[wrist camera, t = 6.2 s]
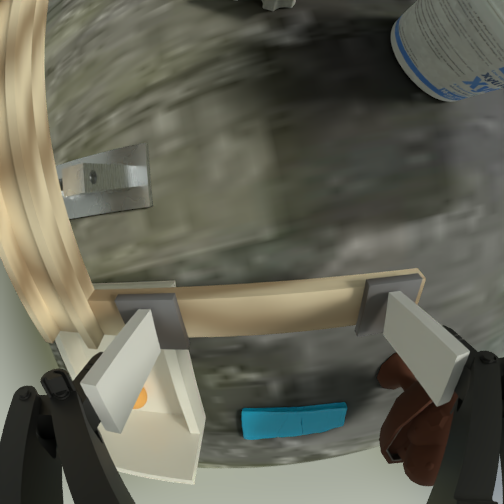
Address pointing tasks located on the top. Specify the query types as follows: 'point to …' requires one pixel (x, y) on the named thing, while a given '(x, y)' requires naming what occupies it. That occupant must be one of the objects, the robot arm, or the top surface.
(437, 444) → the ice cream bowl
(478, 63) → the supplement tub
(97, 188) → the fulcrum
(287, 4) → the egg carton
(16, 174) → the beige angled channel
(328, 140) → the top surface
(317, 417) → the sponge
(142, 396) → the ball
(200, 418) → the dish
